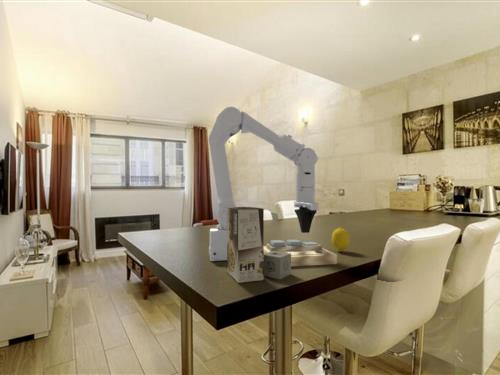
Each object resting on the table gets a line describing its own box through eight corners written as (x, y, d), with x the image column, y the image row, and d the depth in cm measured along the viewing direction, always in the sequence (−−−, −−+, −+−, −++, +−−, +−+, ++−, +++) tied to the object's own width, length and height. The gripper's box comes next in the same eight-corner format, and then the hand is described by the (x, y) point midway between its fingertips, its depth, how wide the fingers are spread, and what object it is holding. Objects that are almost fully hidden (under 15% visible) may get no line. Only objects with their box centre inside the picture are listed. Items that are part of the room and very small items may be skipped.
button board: (273, 267, 70) (273, 253, 70) (260, 254, 85) (260, 242, 85) (337, 263, 73) (336, 250, 74) (314, 251, 88) (314, 240, 88)
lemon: (351, 253, 85) (351, 228, 86) (334, 253, 86) (334, 228, 86) (346, 249, 91) (346, 226, 91) (329, 249, 91) (329, 226, 91)
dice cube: (273, 270, 68) (273, 250, 68) (290, 274, 65) (290, 253, 65) (262, 275, 64) (262, 254, 64) (280, 279, 61) (280, 257, 61)
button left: (273, 247, 78) (273, 242, 78) (270, 245, 82) (270, 240, 82) (285, 247, 79) (285, 242, 79) (281, 244, 82) (281, 240, 82)
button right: (306, 249, 80) (306, 244, 80) (301, 247, 84) (301, 242, 84) (317, 249, 81) (317, 244, 81) (312, 246, 84) (312, 241, 84)
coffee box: (264, 280, 60) (264, 208, 60) (237, 283, 58) (237, 208, 58) (250, 269, 69) (250, 206, 69) (226, 271, 66) (226, 206, 67)
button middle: (290, 247, 79) (290, 242, 79) (286, 244, 83) (286, 239, 83) (301, 246, 80) (301, 241, 80) (297, 244, 83) (297, 239, 83)
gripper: (328, 187, 76) (328, 235, 76) (308, 188, 90) (308, 228, 90) (304, 187, 74) (304, 236, 74) (288, 188, 89) (288, 229, 89)
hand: (305, 232), depth 82 cm, fingers closed
